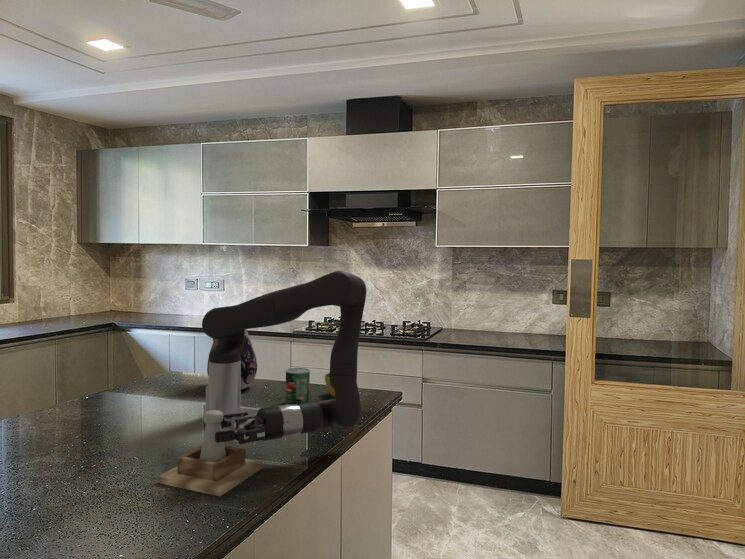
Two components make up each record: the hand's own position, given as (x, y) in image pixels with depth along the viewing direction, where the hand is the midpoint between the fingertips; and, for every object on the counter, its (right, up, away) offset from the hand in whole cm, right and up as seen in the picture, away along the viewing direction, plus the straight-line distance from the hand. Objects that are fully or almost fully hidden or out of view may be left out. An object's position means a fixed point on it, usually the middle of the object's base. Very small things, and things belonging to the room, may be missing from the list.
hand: (210, 431), depth 123 cm
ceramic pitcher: (-16, -6, +78) cm, 80 cm away
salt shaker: (0, -9, +1) cm, 9 cm away
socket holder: (0, -10, +1) cm, 10 cm away
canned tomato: (+11, -7, +60) cm, 61 cm away
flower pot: (+24, -7, +71) cm, 75 cm away
